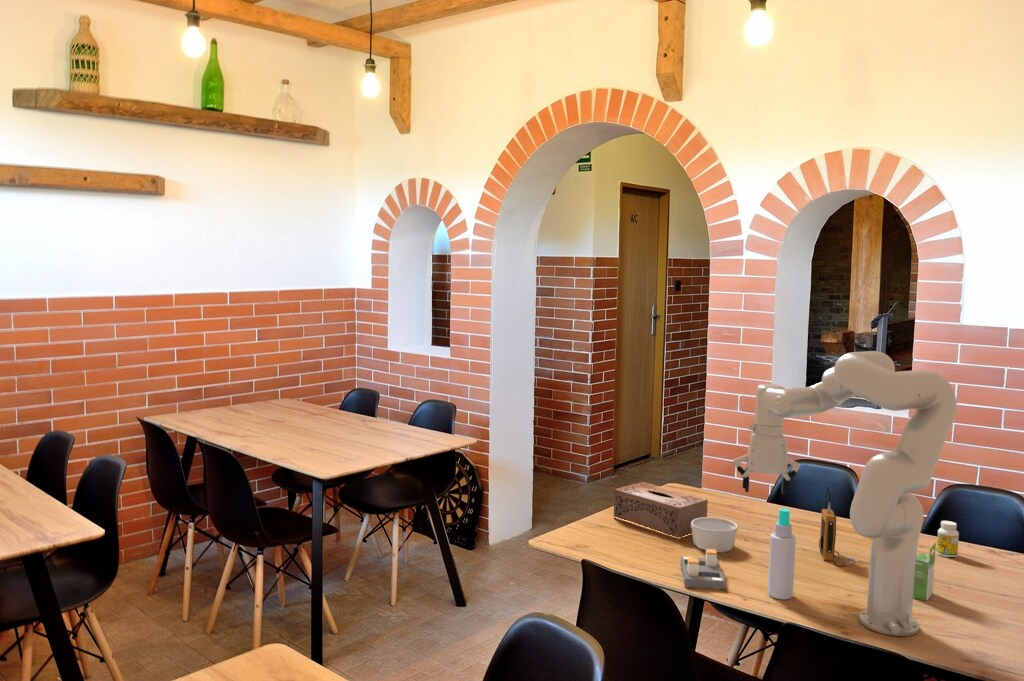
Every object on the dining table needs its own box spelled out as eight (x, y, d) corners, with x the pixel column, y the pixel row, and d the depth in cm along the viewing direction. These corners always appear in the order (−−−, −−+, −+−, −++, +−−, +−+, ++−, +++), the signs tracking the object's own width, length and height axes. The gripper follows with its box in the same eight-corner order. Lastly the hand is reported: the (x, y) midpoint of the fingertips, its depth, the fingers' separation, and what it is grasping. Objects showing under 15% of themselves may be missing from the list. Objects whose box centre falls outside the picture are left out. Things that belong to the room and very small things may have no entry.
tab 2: (716, 571, 219) (717, 553, 218) (706, 570, 219) (707, 552, 218) (715, 567, 221) (715, 549, 221) (705, 567, 222) (706, 548, 221)
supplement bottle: (961, 557, 235) (964, 524, 235) (946, 558, 234) (949, 526, 233) (946, 551, 241) (948, 519, 240) (932, 552, 239) (934, 520, 238)
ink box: (916, 589, 211) (919, 538, 210) (933, 593, 209) (936, 542, 207) (909, 597, 206) (913, 545, 205) (926, 601, 203) (930, 549, 202)
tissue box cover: (613, 519, 265) (614, 489, 264) (642, 511, 275) (643, 481, 274) (678, 540, 246) (679, 508, 245) (706, 530, 256) (707, 499, 255)
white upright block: (698, 581, 211) (698, 562, 211) (687, 580, 212) (688, 561, 211) (697, 577, 214) (698, 558, 214) (687, 576, 215) (687, 557, 214)
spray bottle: (782, 602, 201) (787, 515, 199) (762, 594, 206) (766, 509, 204) (797, 596, 205) (802, 511, 203) (777, 588, 209) (781, 505, 207)
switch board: (724, 589, 208) (724, 581, 208) (684, 586, 209) (684, 578, 209) (717, 567, 224) (718, 558, 224) (680, 564, 225) (680, 556, 225)
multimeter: (864, 569, 225) (868, 498, 223) (825, 565, 227) (829, 495, 225) (853, 551, 239) (856, 484, 237) (817, 548, 241) (820, 481, 239)
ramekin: (689, 551, 236) (690, 528, 235) (690, 537, 248) (691, 515, 248) (737, 556, 233) (738, 532, 232) (735, 541, 245) (736, 519, 245)
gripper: (736, 431, 217) (733, 493, 219) (804, 435, 214) (800, 498, 216) (734, 425, 224) (730, 486, 226) (799, 429, 221) (795, 490, 223)
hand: (764, 492), depth 221 cm, fingers open, 9 cm apart
